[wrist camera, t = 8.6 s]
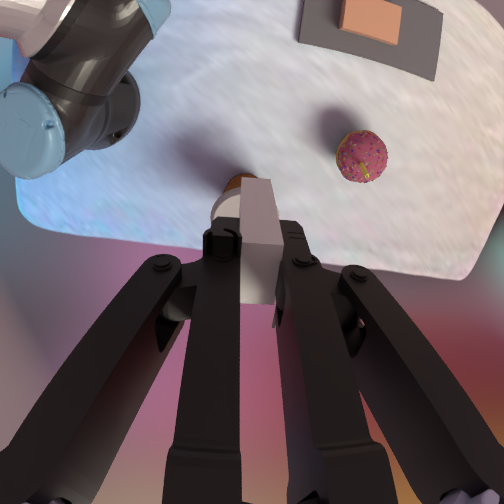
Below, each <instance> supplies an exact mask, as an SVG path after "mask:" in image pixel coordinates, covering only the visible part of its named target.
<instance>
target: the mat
mask: <svg viewBox="0 0 504 504" xmlns="http://www.w3.org/2000/svg"><path fill="white" fill-rule="evenodd" d="M384 1H387V2H390V3H392V4H395V5H398V6H400V7H402V11H401V20H400V28H399V36H398V43H397V45H389V44H386V43H383V42H380V41H377V40H374V39H371V38H368V37H364V36H361V35H357V34H354V33H350V32H347V31H343V30H339V22H340V15H341V8H342V0H304V4H303V11H302V18H301V25H300V32H299V39H298V43H303V44H308V45H313V46H318V47H323V48H327V49H332V50H336V51H340V52H344V53H348V54H352V55H356V56H359V57H363V58H366V59H370V60H373V61H376V62H380V63H383V64H386V65H389V66H392V67H395V68H398V69H401V70H404V71H406V72H409V73H412V74H414V75H417V76H420V77H422V78H425V79H427V80H430V81H433V82H434V79H435V74H436V68H437V61H438V54H439V47H440V39H441V31H442V21H443V13H442V12H440V11H438V10H436V9H433V8H431V7H429V6H427V5H425V4H423V3H421V2H418V1H416V0H384Z"/></svg>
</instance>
